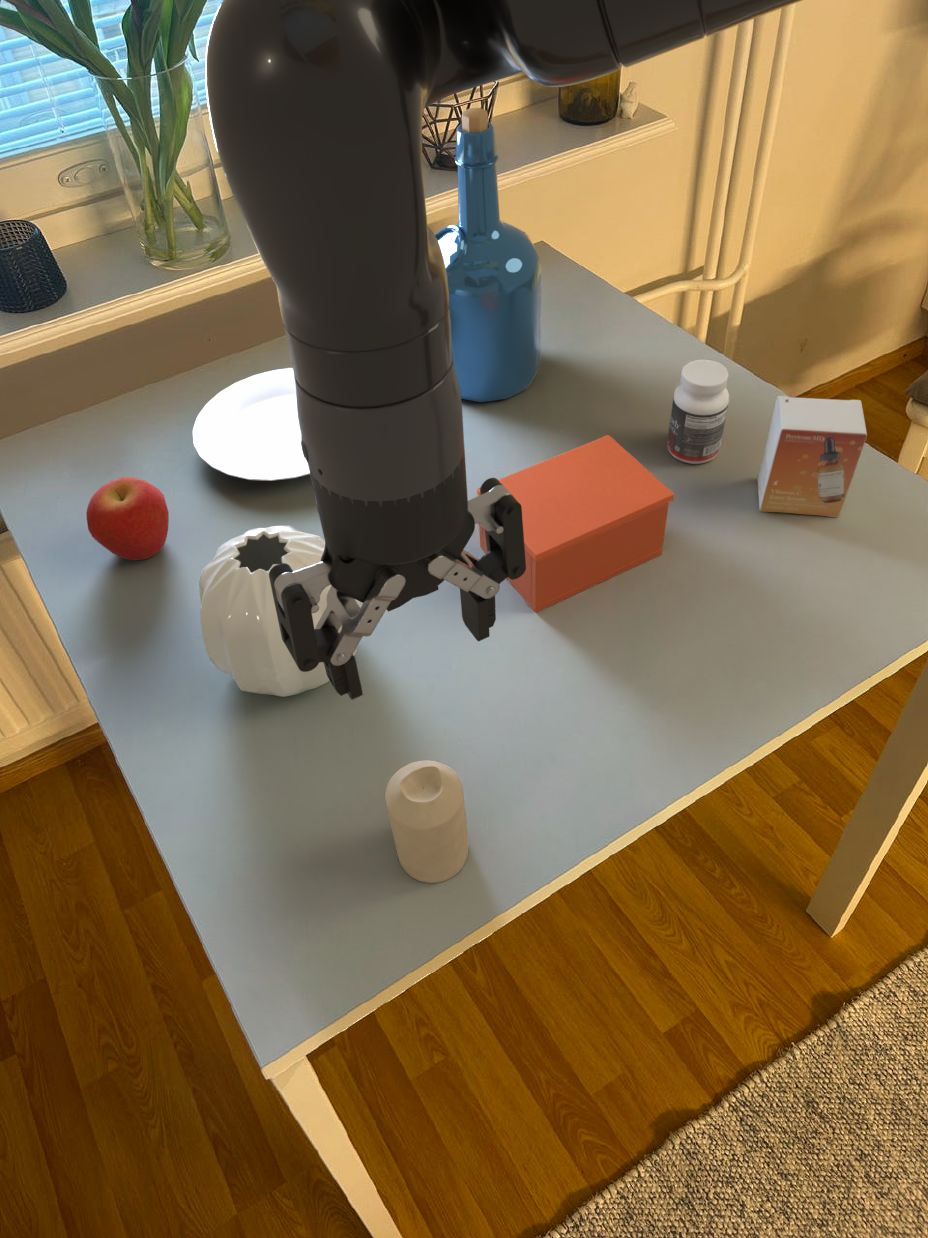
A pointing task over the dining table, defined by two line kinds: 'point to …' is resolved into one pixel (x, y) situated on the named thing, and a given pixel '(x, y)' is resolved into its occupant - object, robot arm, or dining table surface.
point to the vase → (257, 610)
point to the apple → (129, 518)
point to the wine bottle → (489, 277)
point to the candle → (428, 820)
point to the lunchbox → (590, 559)
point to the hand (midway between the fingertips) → (415, 658)
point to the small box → (810, 455)
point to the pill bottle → (698, 412)
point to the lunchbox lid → (582, 495)
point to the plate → (253, 429)
